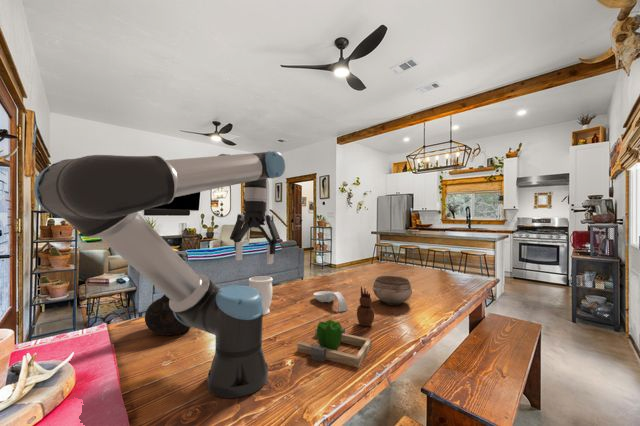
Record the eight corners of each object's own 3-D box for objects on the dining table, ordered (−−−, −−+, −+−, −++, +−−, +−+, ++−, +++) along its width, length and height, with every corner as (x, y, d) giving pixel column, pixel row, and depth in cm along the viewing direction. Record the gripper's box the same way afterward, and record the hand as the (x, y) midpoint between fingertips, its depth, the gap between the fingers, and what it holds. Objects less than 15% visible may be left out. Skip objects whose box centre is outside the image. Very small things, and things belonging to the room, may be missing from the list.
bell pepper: (317, 341, 94) (317, 312, 94) (341, 342, 94) (341, 313, 94) (315, 353, 86) (316, 321, 86) (342, 354, 85) (342, 322, 85)
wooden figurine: (354, 324, 109) (354, 286, 110) (362, 320, 114) (362, 284, 114) (368, 329, 105) (369, 290, 105) (376, 325, 109) (377, 287, 109)
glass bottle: (132, 336, 95) (134, 255, 96) (175, 318, 112) (177, 250, 112) (171, 345, 89) (172, 259, 90) (210, 325, 106) (212, 252, 106)
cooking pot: (395, 294, 152) (396, 272, 152) (424, 304, 135) (424, 279, 136) (360, 301, 139) (360, 277, 139) (387, 313, 123) (387, 285, 123)
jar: (266, 317, 115) (267, 282, 115) (243, 315, 117) (244, 280, 117) (275, 309, 125) (276, 276, 125) (254, 307, 127) (255, 275, 127)
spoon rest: (309, 299, 142) (309, 285, 142) (328, 296, 147) (329, 283, 147) (332, 314, 121) (333, 297, 121) (354, 310, 127) (354, 294, 127)
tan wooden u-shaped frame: (356, 371, 76) (356, 358, 76) (294, 354, 85) (294, 342, 85) (373, 344, 93) (373, 334, 93) (319, 332, 101) (319, 322, 101)
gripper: (291, 201, 93) (290, 263, 93) (235, 201, 104) (234, 257, 104) (278, 199, 86) (277, 267, 86) (220, 200, 97) (219, 260, 97)
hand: (254, 262), depth 95 cm, fingers open, 13 cm apart
